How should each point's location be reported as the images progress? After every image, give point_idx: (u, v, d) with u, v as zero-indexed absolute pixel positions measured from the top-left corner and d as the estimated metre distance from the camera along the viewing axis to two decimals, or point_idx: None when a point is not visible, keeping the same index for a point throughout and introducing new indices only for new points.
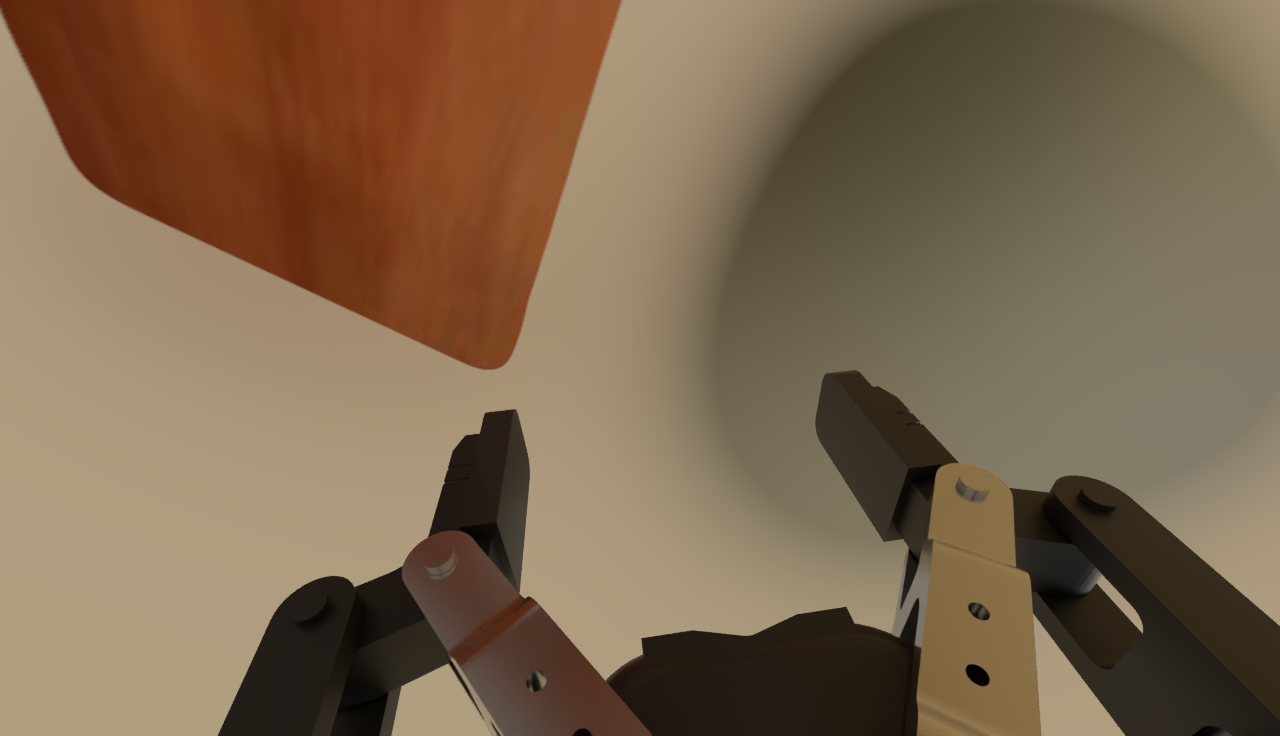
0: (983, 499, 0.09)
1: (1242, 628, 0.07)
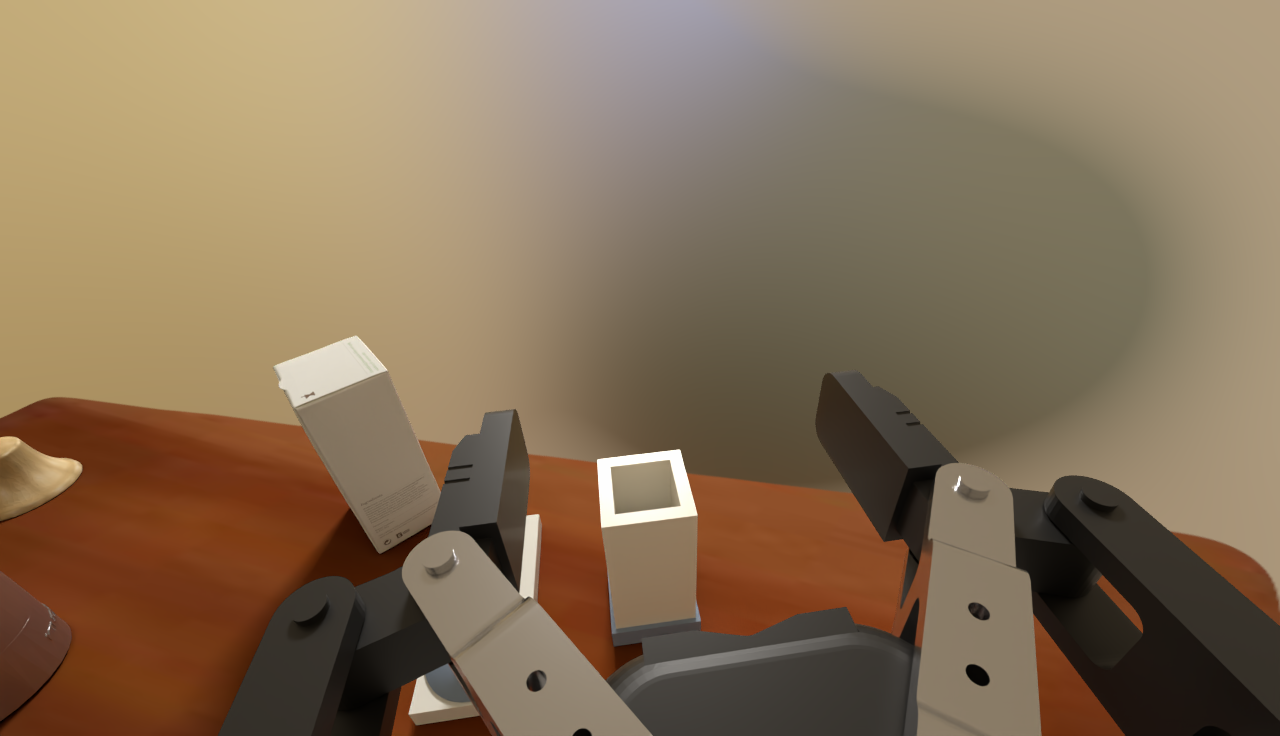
0: (983, 499, 0.09)
1: (1242, 627, 0.07)
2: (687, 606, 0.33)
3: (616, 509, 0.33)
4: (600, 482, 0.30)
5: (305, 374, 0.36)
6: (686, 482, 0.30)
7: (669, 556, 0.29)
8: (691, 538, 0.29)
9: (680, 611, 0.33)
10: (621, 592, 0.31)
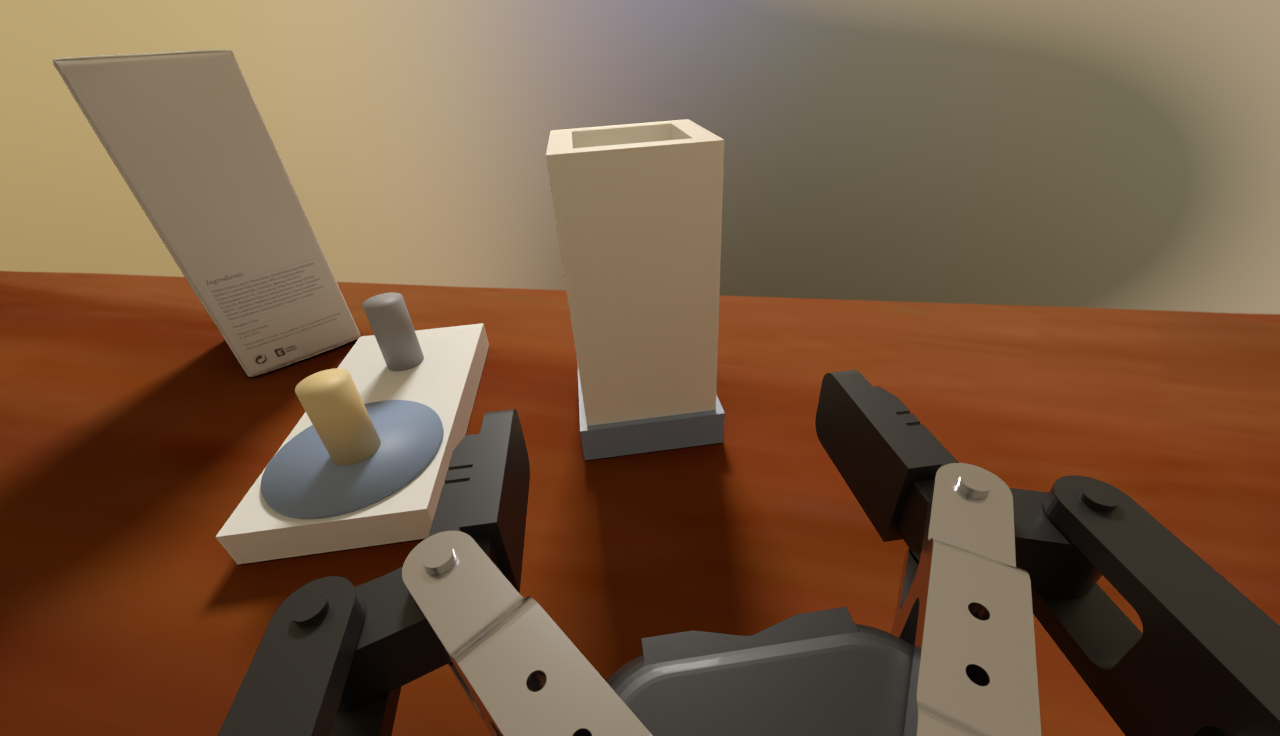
0: (983, 499, 0.09)
1: (1242, 628, 0.07)
2: (703, 382, 0.20)
3: None
4: (552, 138, 0.17)
5: None
6: (700, 129, 0.17)
7: (672, 251, 0.17)
8: (712, 206, 0.16)
9: (690, 392, 0.20)
10: (591, 338, 0.18)
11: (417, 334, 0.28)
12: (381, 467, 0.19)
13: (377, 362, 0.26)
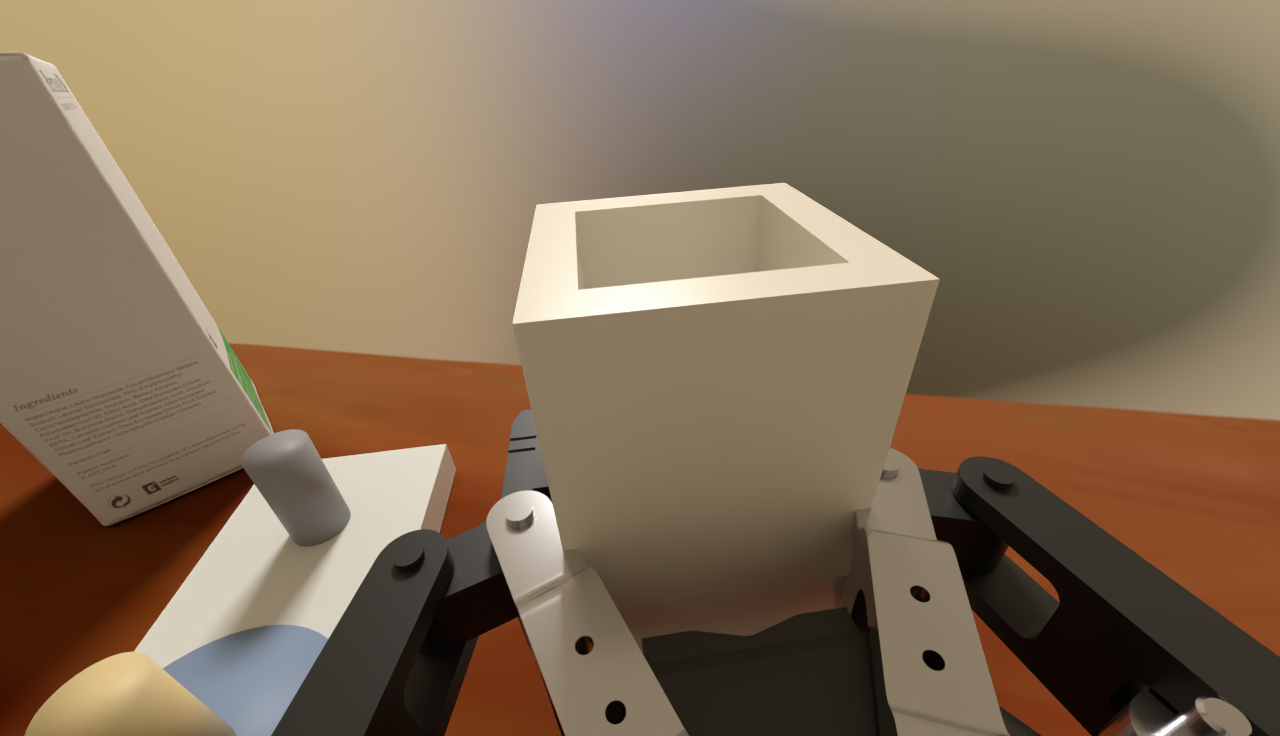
0: (891, 478, 0.09)
1: (1136, 581, 0.07)
2: None
3: None
4: (536, 234, 0.09)
5: None
6: (838, 221, 0.08)
7: (783, 482, 0.08)
8: (881, 404, 0.07)
9: None
10: None
11: (349, 464, 0.19)
12: None
13: (279, 525, 0.17)
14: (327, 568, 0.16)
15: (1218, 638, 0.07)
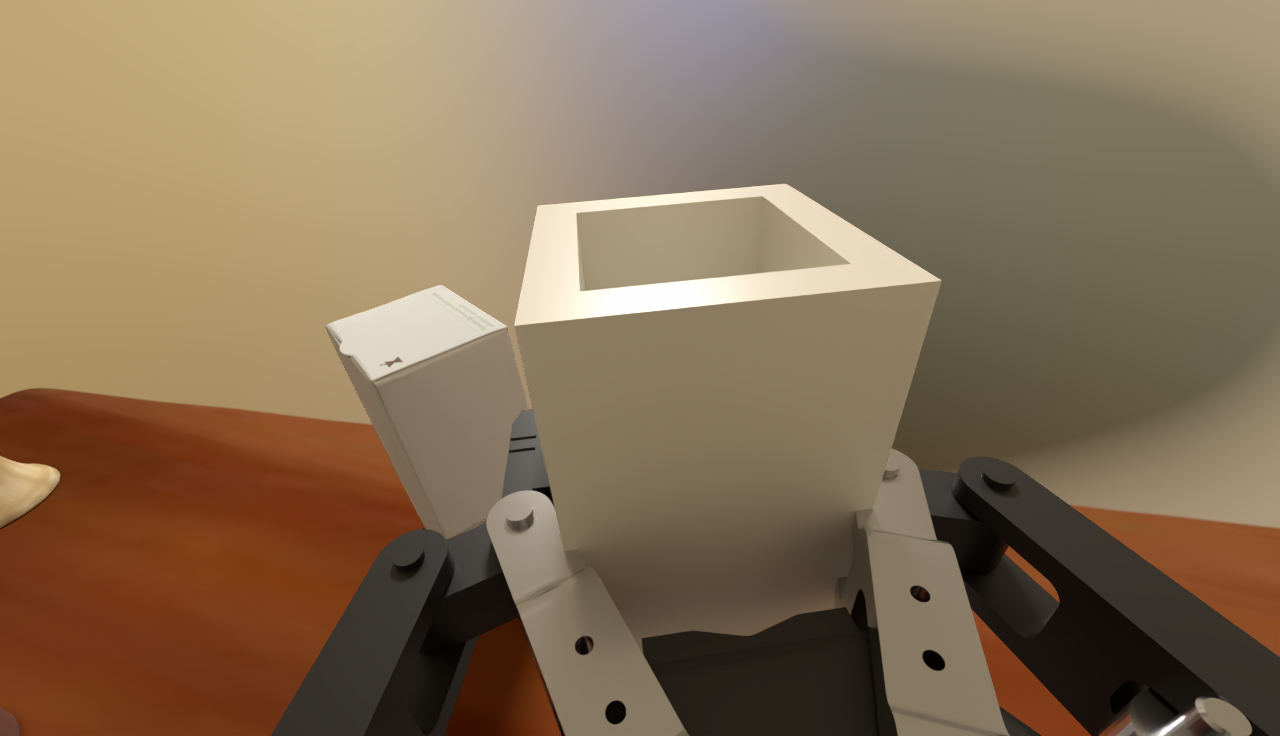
0: (891, 478, 0.09)
1: (1136, 581, 0.07)
2: None
3: None
4: (538, 236, 0.09)
5: (379, 334, 0.23)
6: (839, 223, 0.08)
7: (785, 483, 0.08)
8: (883, 405, 0.07)
9: None
10: None
11: None
12: None
13: None
14: None
15: (1219, 638, 0.07)
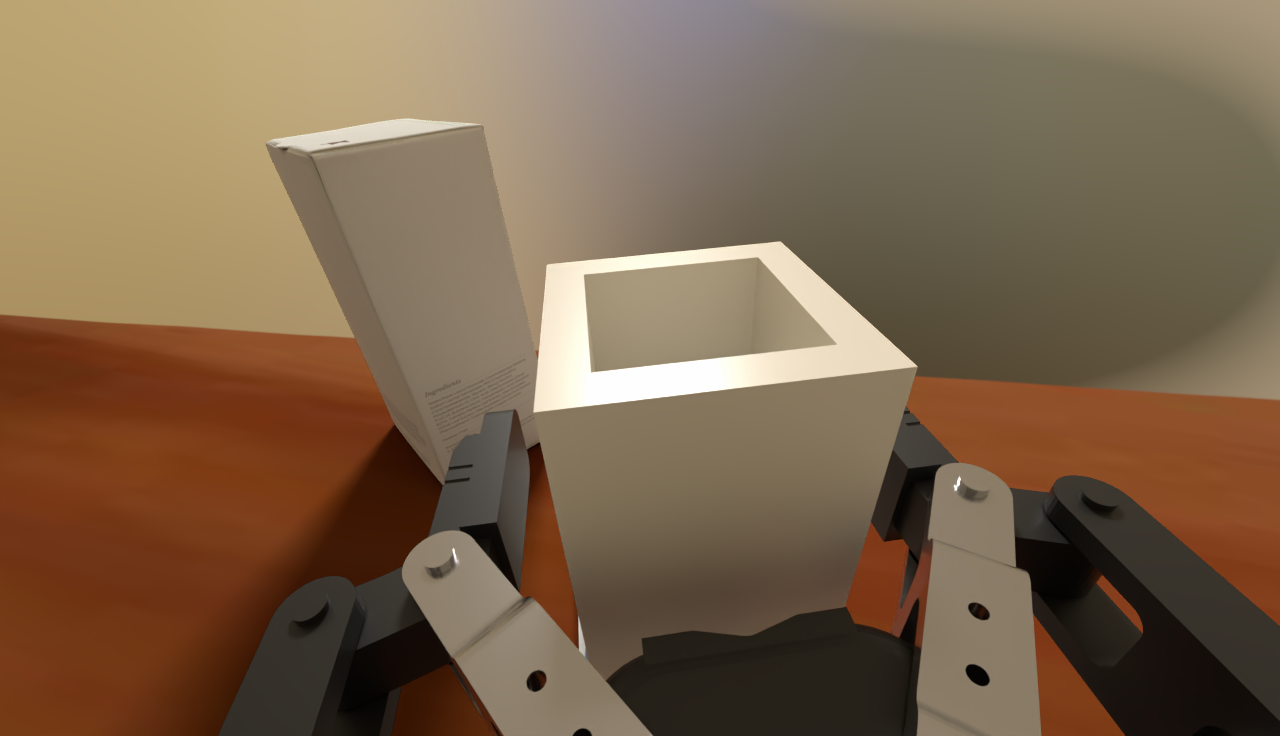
0: (983, 499, 0.09)
1: (1241, 627, 0.07)
2: None
3: None
4: (549, 303, 0.09)
5: (326, 135, 0.19)
6: (828, 293, 0.09)
7: (778, 537, 0.09)
8: (867, 469, 0.08)
9: None
10: (619, 651, 0.10)
11: None
12: None
13: None
14: None
15: None
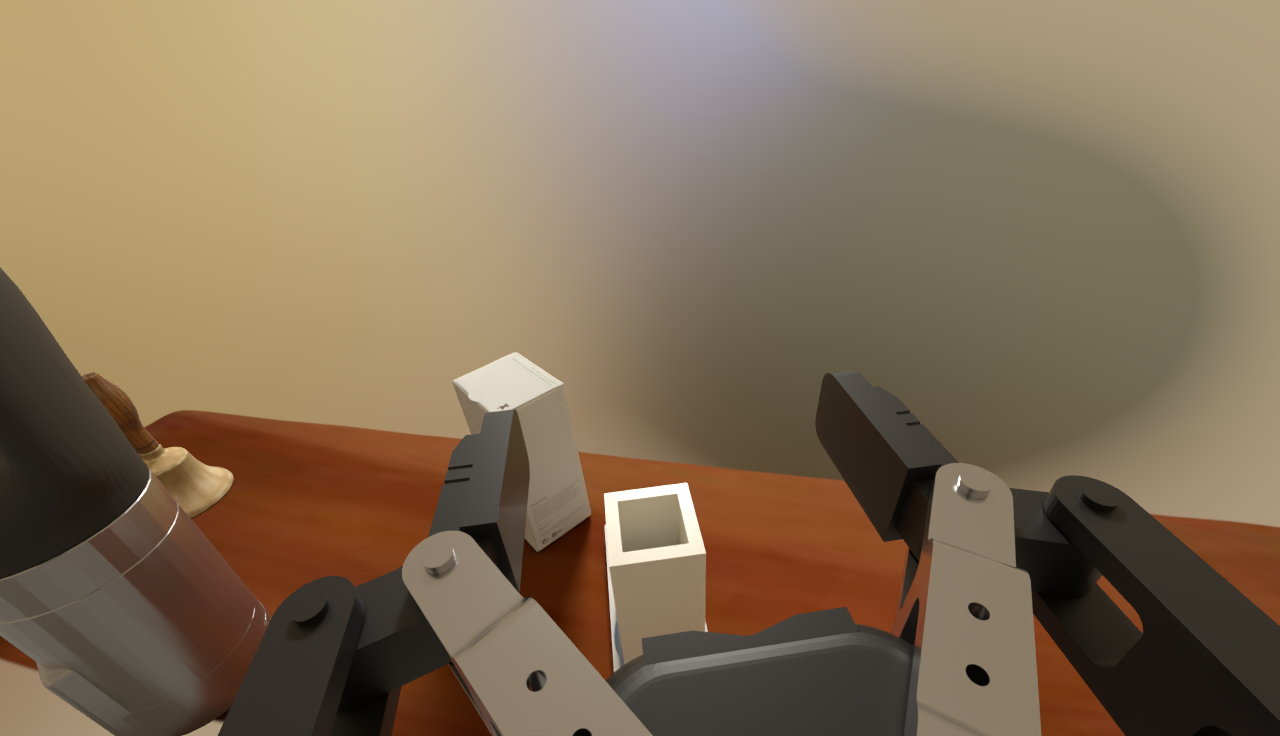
0: (983, 499, 0.09)
1: (1241, 627, 0.07)
2: None
3: (623, 542, 0.33)
4: (607, 518, 0.30)
5: (489, 388, 0.40)
6: (693, 517, 0.30)
7: (677, 593, 0.29)
8: (699, 575, 0.28)
9: None
10: (629, 629, 0.31)
11: None
12: None
13: None
14: None
15: None
